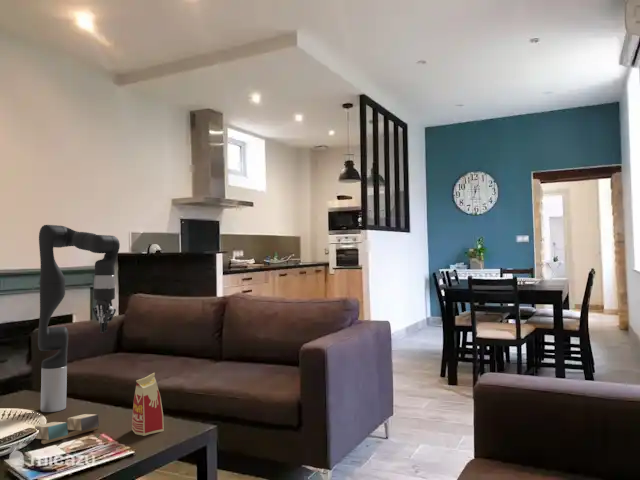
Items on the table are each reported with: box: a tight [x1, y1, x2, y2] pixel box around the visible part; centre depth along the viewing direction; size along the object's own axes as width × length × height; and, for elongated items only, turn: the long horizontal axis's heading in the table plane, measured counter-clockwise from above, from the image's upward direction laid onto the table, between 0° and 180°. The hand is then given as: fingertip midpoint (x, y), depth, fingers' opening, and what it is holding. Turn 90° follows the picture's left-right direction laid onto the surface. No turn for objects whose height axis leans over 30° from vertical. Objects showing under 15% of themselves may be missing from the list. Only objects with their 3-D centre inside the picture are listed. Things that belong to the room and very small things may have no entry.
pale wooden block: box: [66, 413, 100, 431], centre depth 179 cm, size 4×6×10 cm
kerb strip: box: [40, 425, 100, 445], centre depth 173 cm, size 2×19×1 cm, turn 143°
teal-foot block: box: [34, 421, 69, 440], centre depth 170 cm, size 4×6×10 cm
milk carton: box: [131, 372, 165, 437], centre depth 178 cm, size 9×9×20 cm
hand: (103, 332), depth 191 cm, fingers closed
